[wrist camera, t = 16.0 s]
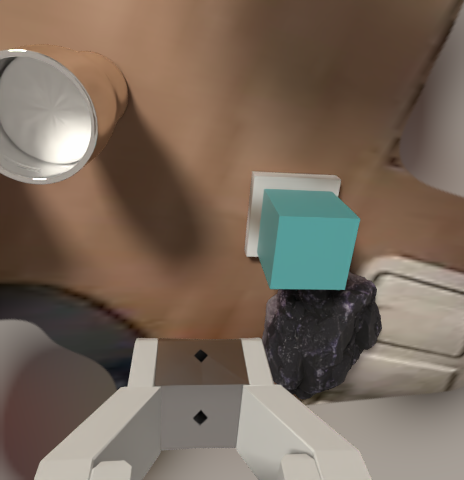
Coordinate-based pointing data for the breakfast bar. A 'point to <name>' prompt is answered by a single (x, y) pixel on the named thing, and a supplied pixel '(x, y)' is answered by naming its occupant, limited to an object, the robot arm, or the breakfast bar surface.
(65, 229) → the breakfast bar surface
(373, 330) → the dark grey rock
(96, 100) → the beer glass
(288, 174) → the square base with post
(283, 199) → the turquoise cube
